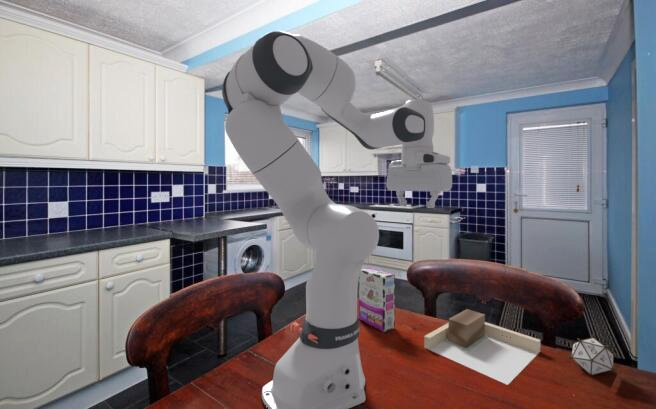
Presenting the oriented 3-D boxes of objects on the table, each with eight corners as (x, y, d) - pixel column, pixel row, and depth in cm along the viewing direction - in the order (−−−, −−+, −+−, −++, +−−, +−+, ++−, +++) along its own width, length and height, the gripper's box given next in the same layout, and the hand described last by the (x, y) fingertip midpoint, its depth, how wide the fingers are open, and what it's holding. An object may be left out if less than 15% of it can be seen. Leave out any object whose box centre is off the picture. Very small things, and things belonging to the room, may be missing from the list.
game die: (602, 393, 70) (638, 374, 63) (562, 375, 71) (593, 355, 65) (590, 356, 77) (622, 335, 70) (554, 341, 78) (582, 319, 72)
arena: (507, 388, 66) (508, 371, 66) (424, 350, 81) (424, 336, 81) (540, 354, 79) (540, 339, 78) (462, 327, 94) (462, 314, 94)
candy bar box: (395, 328, 94) (396, 274, 93) (384, 333, 91) (384, 277, 90) (369, 315, 103) (369, 266, 102) (358, 319, 100) (357, 269, 99)
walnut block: (484, 335, 87) (484, 314, 86) (466, 348, 80) (467, 325, 80) (466, 329, 90) (467, 308, 90) (448, 340, 84) (448, 318, 84)
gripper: (382, 160, 96) (381, 205, 97) (443, 155, 81) (441, 209, 81) (395, 161, 100) (394, 204, 101) (455, 157, 85) (454, 208, 85)
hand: (416, 206), depth 91 cm, fingers open, 8 cm apart
